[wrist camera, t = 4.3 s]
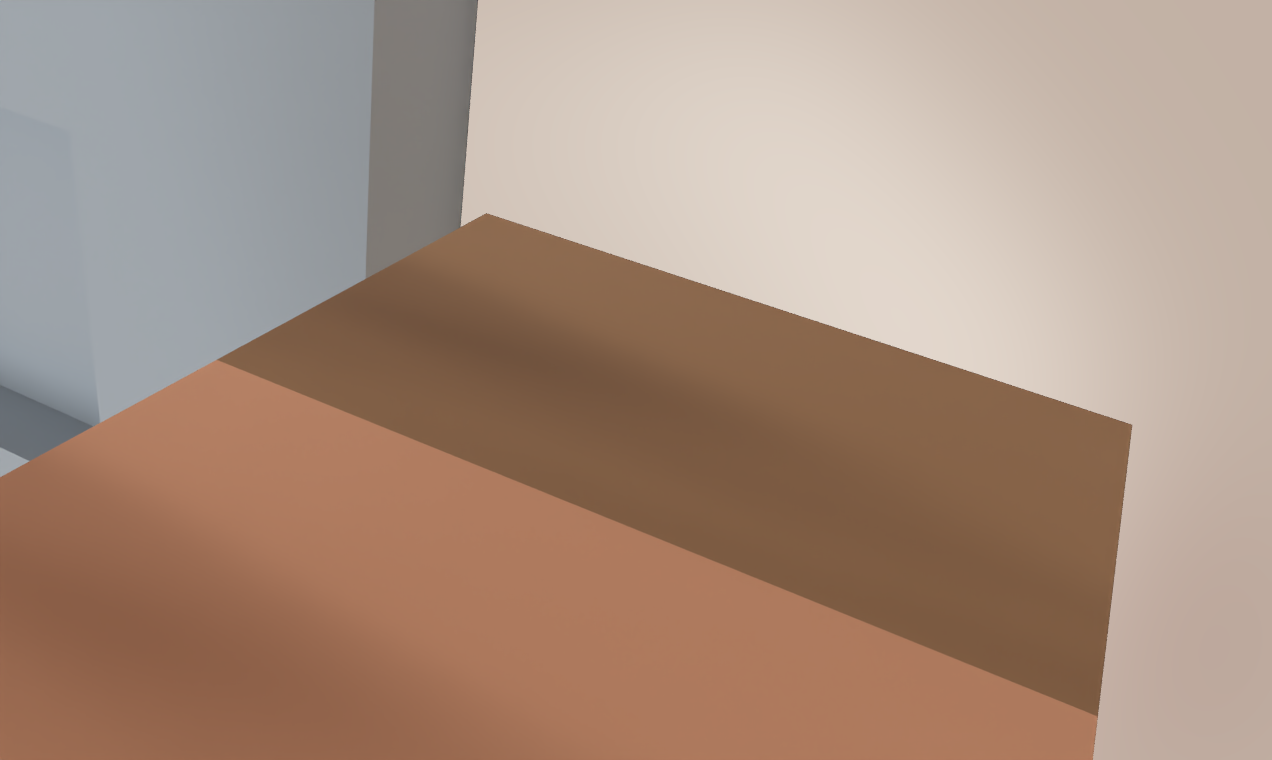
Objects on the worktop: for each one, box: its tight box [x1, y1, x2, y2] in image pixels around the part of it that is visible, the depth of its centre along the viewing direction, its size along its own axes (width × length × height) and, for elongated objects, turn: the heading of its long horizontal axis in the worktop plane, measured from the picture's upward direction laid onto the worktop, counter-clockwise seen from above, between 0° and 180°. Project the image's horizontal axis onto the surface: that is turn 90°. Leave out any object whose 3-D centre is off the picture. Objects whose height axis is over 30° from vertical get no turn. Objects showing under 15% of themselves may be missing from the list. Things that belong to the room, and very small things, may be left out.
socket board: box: [0, 0, 478, 477], centre depth 21 cm, size 18×18×2 cm
